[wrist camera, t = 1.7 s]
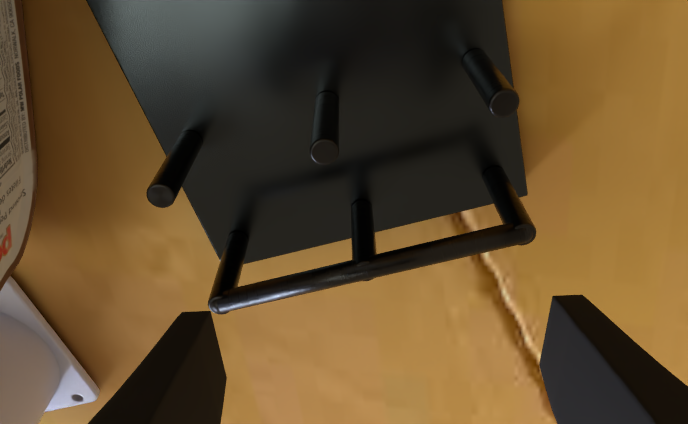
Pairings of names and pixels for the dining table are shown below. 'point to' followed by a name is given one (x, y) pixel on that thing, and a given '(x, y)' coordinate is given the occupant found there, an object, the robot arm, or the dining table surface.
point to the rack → (326, 127)
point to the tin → (15, 140)
